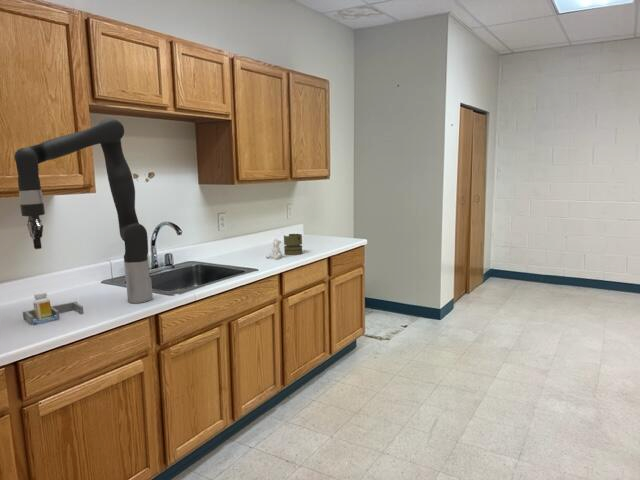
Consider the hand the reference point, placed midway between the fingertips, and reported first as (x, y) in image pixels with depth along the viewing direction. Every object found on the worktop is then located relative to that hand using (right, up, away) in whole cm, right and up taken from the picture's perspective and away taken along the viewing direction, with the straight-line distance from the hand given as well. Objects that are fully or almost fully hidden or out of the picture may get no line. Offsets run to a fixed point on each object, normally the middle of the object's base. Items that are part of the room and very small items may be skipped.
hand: (37, 248), depth 181 cm
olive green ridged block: (+89, -6, +123) cm, 152 cm away
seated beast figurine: (+79, -8, +110) cm, 135 cm away
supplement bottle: (+3, -27, -1) cm, 27 cm away
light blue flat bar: (+5, -27, -3) cm, 28 cm away
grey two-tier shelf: (+4, -26, +4) cm, 27 cm away
